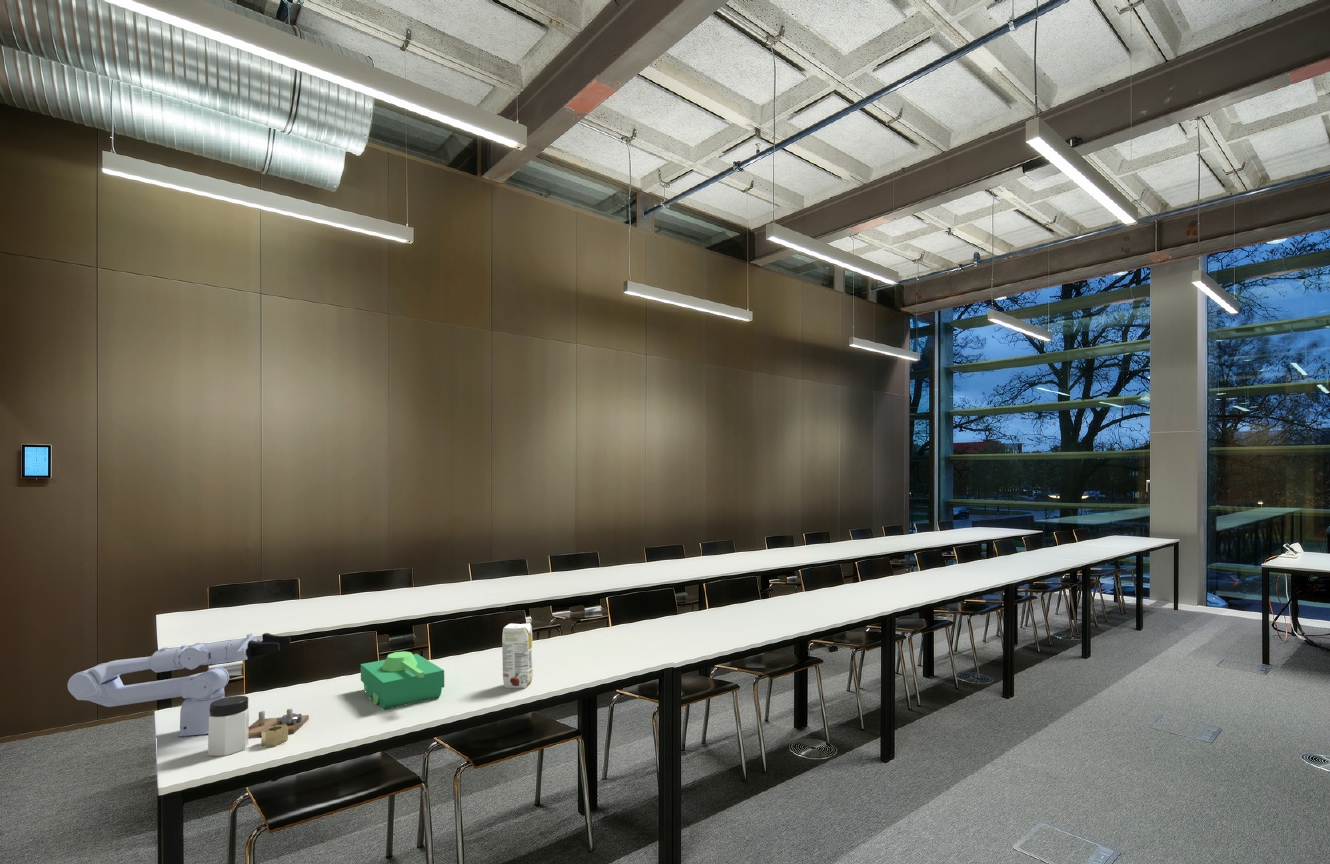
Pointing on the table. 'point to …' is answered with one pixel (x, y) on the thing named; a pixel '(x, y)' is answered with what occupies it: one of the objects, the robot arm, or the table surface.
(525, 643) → the juice carton
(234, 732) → the jar
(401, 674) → the toy tank
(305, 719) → the gear board
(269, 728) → the gear ring
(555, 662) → the table surface
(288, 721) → the gear
